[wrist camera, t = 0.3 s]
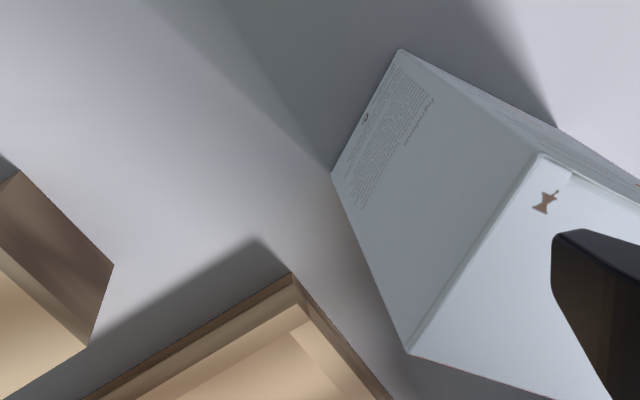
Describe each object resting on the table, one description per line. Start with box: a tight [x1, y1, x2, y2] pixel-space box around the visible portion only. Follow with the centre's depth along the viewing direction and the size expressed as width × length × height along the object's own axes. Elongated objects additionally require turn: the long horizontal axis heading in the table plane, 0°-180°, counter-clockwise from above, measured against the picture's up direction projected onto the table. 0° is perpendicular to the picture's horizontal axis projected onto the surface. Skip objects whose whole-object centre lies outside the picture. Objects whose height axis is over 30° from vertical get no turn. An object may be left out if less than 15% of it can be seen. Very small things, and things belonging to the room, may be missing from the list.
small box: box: [330, 49, 640, 400], centre depth 18 cm, size 8×6×10 cm
